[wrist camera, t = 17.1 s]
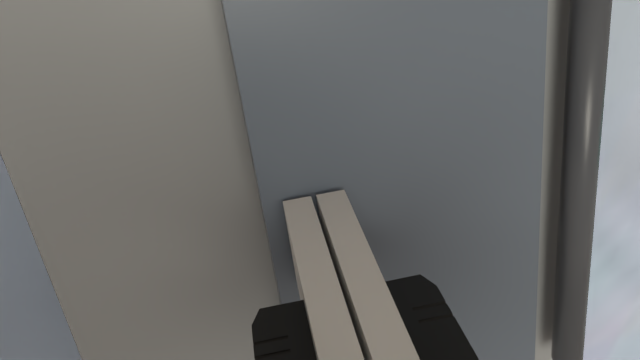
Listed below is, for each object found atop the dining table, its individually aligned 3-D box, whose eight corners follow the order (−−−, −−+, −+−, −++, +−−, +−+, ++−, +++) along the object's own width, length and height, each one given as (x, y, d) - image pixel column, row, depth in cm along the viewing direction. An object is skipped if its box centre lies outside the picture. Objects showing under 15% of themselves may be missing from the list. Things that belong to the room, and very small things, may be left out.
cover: (301, 410, 20) (308, 441, 19) (215, -28, 14) (219, -21, 13) (566, 338, 22) (589, 363, 20) (594, -90, 15) (628, -88, 14)
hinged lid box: (134, 389, 25) (121, 477, 21) (-35, -86, 17) (-105, -81, 13) (520, 307, 26) (571, 376, 23) (531, -167, 18) (612, -182, 15)
